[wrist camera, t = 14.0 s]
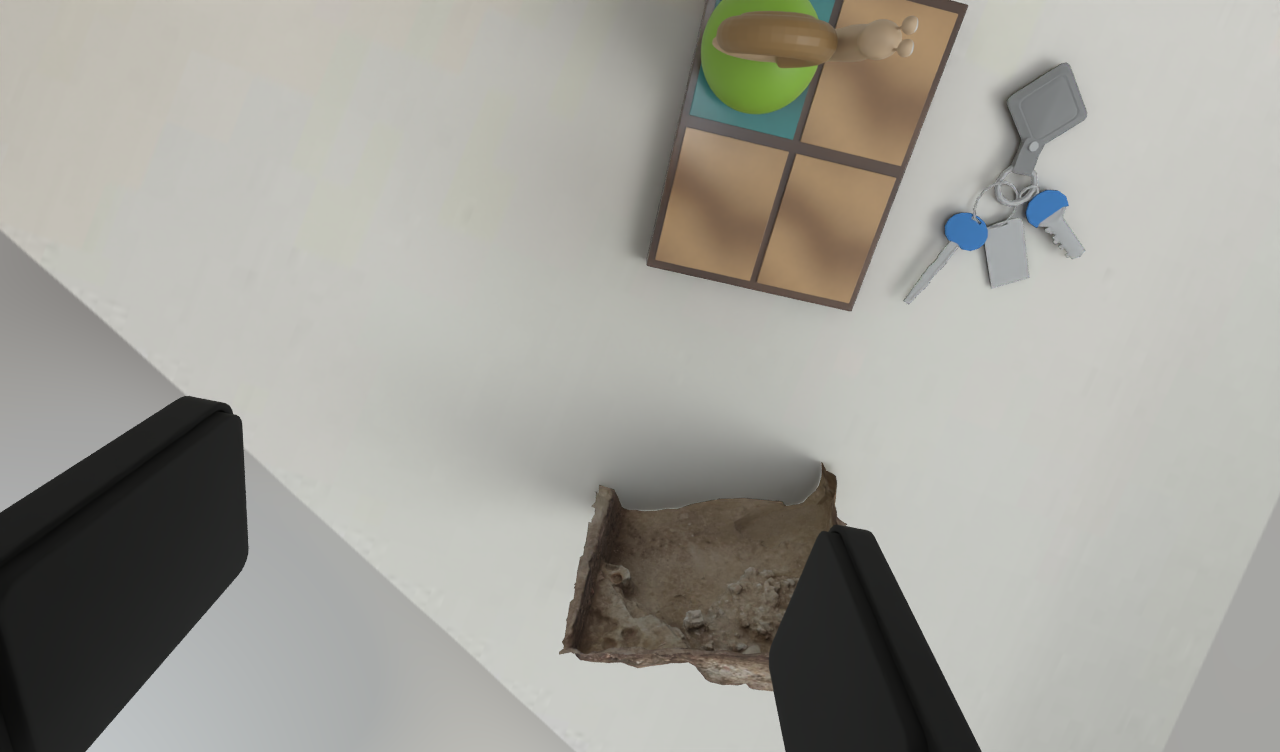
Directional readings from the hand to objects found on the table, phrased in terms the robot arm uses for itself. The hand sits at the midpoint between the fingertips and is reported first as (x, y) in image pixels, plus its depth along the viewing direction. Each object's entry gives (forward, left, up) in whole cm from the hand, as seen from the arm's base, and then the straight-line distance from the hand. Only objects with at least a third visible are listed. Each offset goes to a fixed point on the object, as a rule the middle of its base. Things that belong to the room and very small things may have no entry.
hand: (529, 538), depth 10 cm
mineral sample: (+17, +10, -28) cm, 35 cm away
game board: (-6, +8, -28) cm, 30 cm away
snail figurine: (-10, +5, -27) cm, 29 cm away
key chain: (-6, +22, -28) cm, 36 cm away
